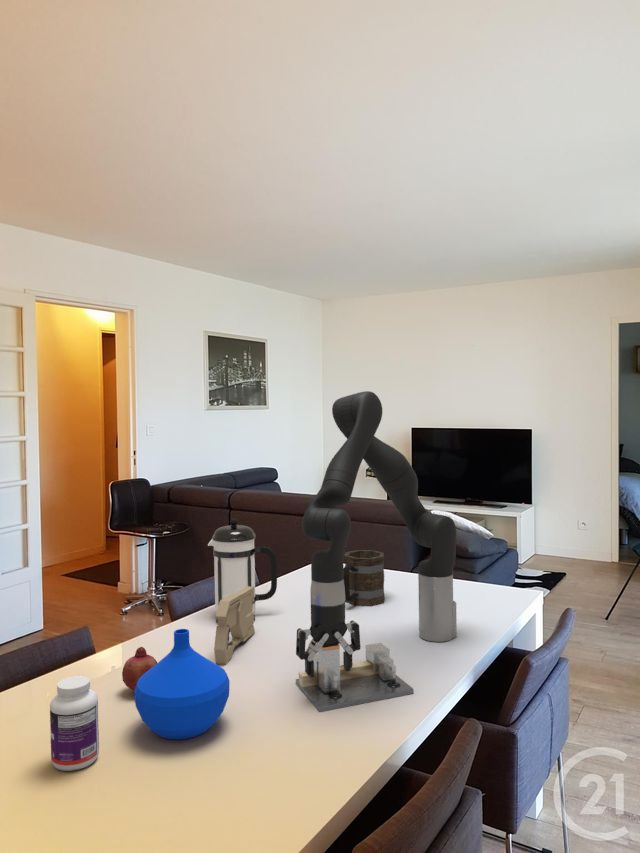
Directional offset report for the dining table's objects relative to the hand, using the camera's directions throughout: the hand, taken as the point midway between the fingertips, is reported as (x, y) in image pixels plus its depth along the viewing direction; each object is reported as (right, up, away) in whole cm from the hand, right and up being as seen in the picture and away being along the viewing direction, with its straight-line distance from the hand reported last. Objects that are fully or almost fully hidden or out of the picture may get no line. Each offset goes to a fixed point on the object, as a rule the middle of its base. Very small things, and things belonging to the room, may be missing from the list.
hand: (328, 673), depth 142 cm
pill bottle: (-46, -6, -26) cm, 53 cm away
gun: (-24, -5, +29) cm, 38 cm away
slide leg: (0, -3, +1) cm, 4 cm away
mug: (+11, -3, +66) cm, 67 cm away
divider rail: (+4, -3, +6) cm, 8 cm away
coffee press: (-26, -4, +54) cm, 60 cm away
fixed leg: (+13, -3, +6) cm, 14 cm away
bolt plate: (+5, -4, +3) cm, 8 cm away
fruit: (-42, -5, +3) cm, 42 cm away
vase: (-29, -6, -14) cm, 32 cm away
